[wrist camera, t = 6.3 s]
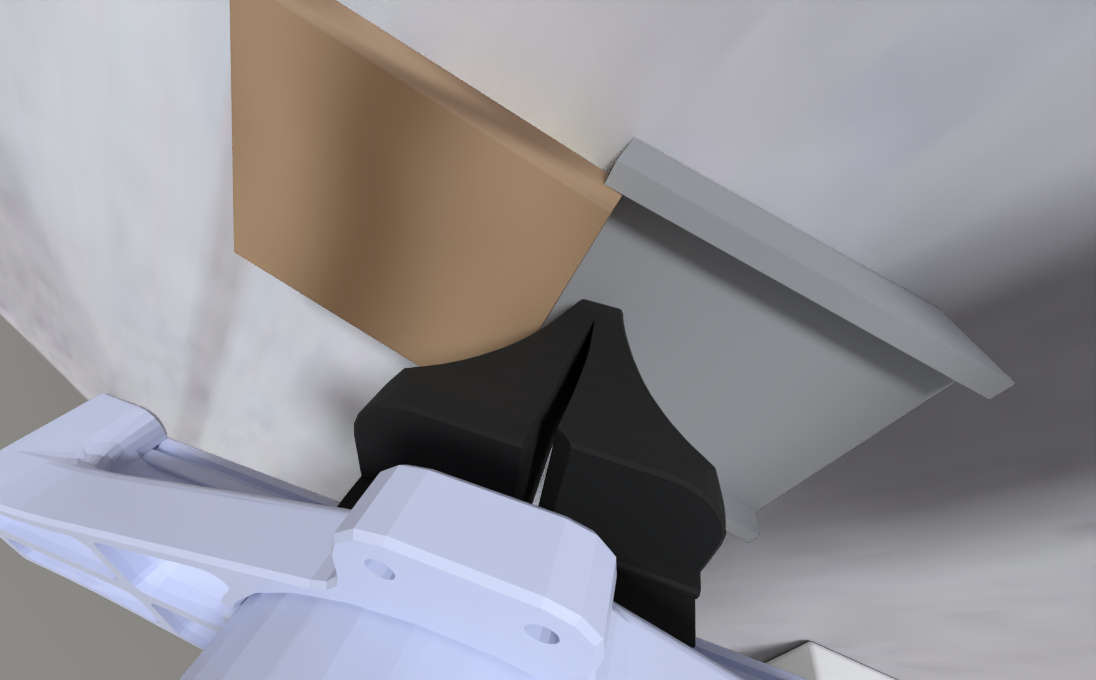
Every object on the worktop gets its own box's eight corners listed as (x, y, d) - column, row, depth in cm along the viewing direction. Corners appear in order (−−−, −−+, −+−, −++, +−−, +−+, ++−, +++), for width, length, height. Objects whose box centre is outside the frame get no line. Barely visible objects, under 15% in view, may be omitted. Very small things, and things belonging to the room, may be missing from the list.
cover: (628, 186, 11) (610, 212, 8) (518, 363, 15) (489, 409, 13) (321, -9, 10) (229, -29, 8) (299, 227, 14) (234, 252, 12)
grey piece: (940, 309, 12) (1016, 383, 10) (738, 465, 18) (748, 542, 15) (634, 137, 12) (617, 159, 9) (523, 347, 18) (490, 403, 15)
